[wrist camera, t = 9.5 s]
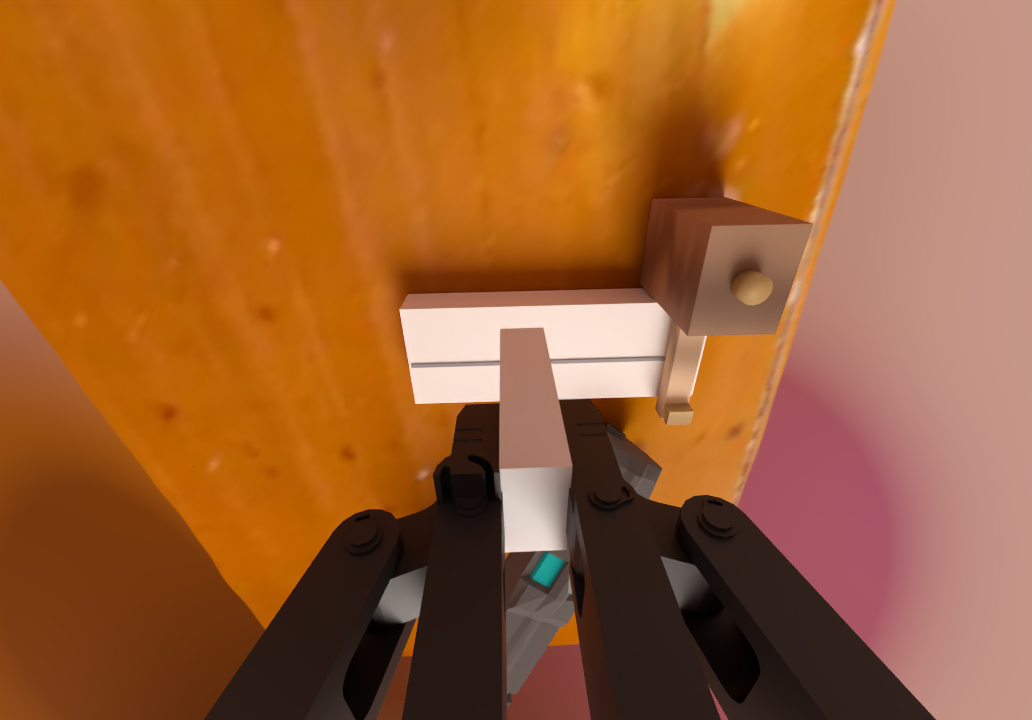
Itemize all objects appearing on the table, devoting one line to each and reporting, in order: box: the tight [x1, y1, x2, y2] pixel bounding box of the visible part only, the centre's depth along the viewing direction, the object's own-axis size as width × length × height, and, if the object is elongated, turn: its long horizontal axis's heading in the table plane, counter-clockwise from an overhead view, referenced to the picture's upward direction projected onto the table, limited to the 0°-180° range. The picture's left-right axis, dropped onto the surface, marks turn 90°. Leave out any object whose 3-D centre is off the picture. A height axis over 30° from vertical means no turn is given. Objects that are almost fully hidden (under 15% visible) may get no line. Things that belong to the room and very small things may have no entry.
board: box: [399, 288, 707, 404], centre depth 31 cm, size 8×22×3 cm, turn 91°
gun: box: [505, 424, 662, 708], centre depth 39 cm, size 6×29×15 cm, turn 148°
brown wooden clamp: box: [640, 197, 813, 425], centre depth 27 cm, size 15×5×10 cm, turn 1°
